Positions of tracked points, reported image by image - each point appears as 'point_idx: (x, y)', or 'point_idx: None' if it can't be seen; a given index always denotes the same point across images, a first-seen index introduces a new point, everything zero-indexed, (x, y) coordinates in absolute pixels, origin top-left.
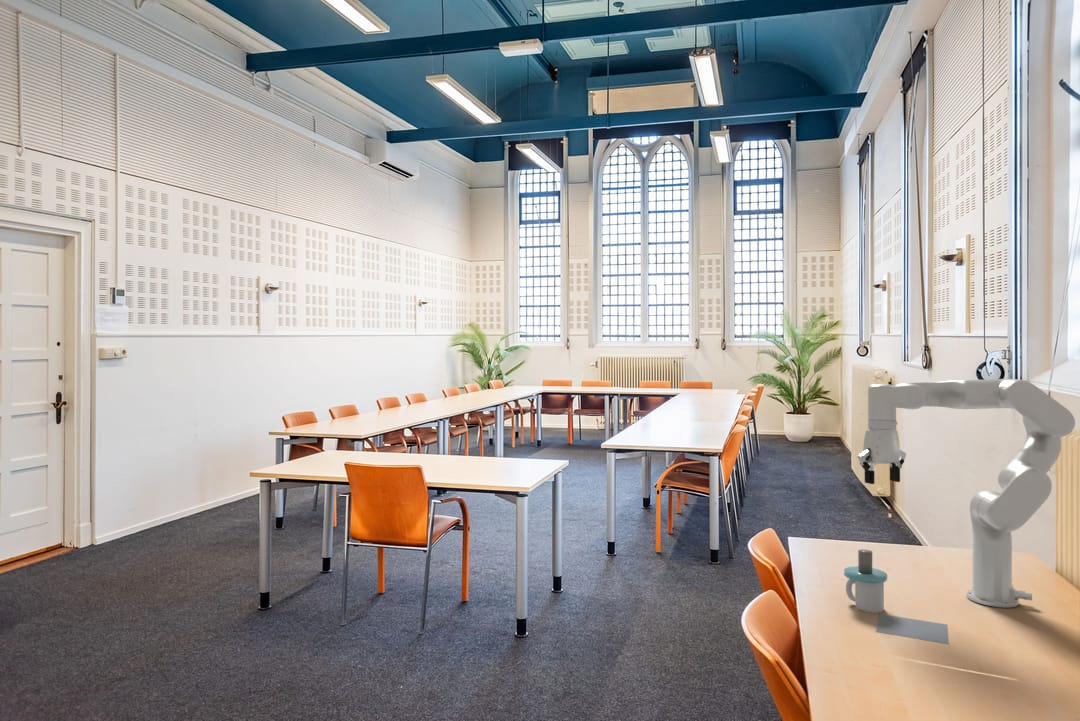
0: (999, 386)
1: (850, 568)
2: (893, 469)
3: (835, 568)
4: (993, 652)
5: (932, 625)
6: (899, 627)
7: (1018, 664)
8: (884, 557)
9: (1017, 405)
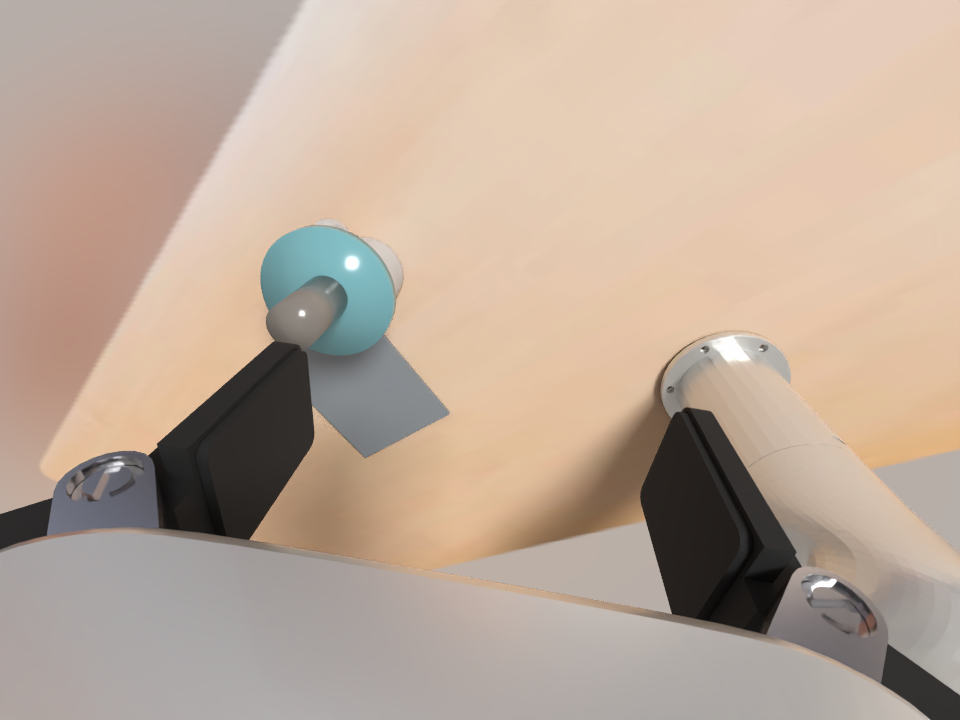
0: None
1: (307, 242)
2: (704, 578)
3: None
4: (414, 497)
5: (415, 403)
6: (340, 378)
7: (407, 528)
8: None
9: None
